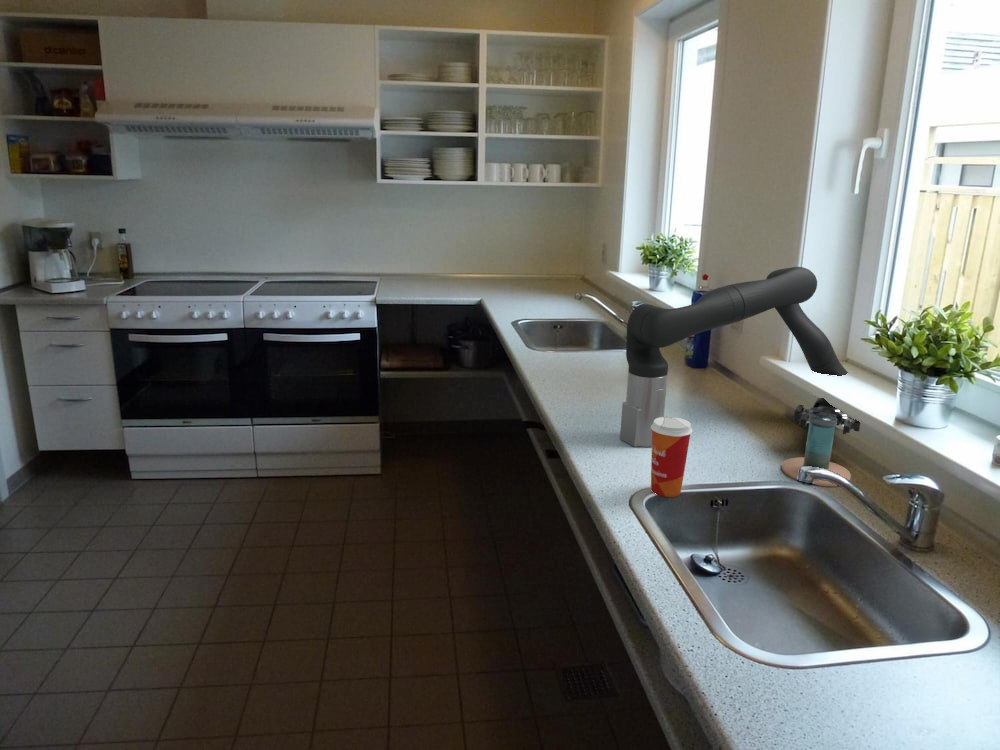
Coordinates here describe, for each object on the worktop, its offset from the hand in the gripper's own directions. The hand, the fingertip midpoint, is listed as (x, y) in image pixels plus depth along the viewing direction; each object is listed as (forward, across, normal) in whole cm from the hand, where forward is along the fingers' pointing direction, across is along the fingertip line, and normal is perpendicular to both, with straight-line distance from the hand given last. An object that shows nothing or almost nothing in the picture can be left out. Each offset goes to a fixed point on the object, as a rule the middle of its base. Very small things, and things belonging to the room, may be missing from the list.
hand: (824, 426), depth 166 cm
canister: (+6, 0, +8) cm, 10 cm away
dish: (+6, 0, +9) cm, 11 cm away
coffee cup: (+33, -26, +9) cm, 43 cm away
